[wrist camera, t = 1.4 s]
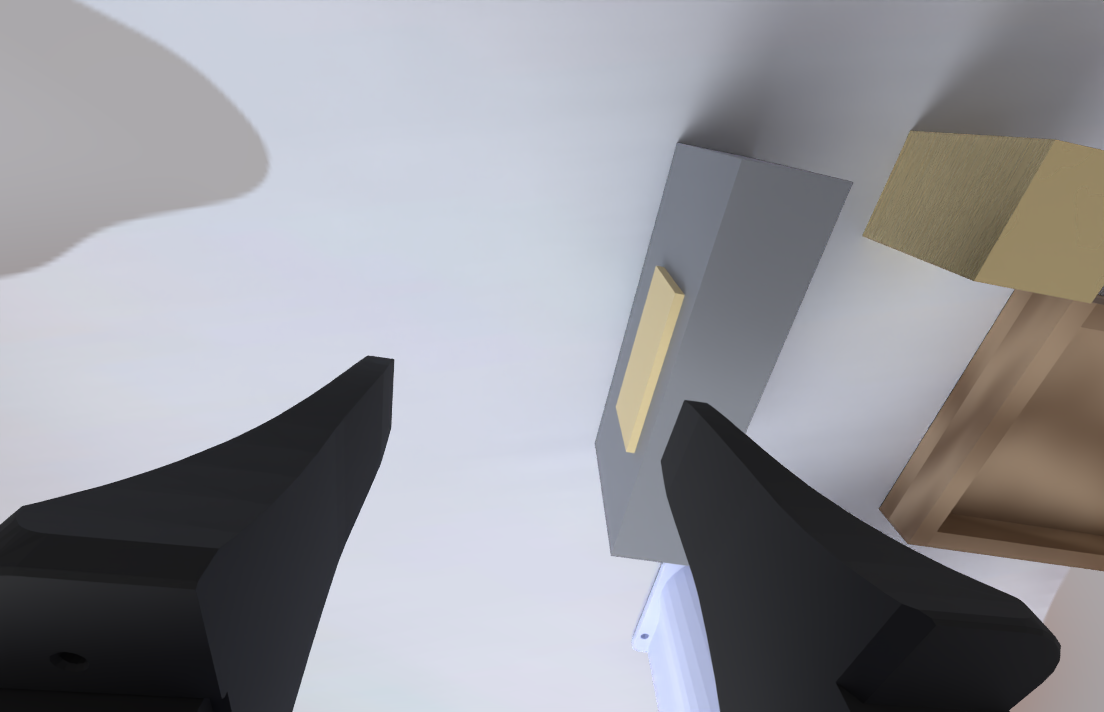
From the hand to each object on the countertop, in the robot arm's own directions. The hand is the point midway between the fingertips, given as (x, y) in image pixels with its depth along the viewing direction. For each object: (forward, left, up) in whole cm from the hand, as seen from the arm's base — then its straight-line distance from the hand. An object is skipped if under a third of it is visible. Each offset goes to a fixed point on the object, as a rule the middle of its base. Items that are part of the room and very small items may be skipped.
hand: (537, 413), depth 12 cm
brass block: (+7, -15, -10) cm, 19 cm away
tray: (-2, -27, -10) cm, 28 cm away
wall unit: (0, -6, -10) cm, 11 cm away
